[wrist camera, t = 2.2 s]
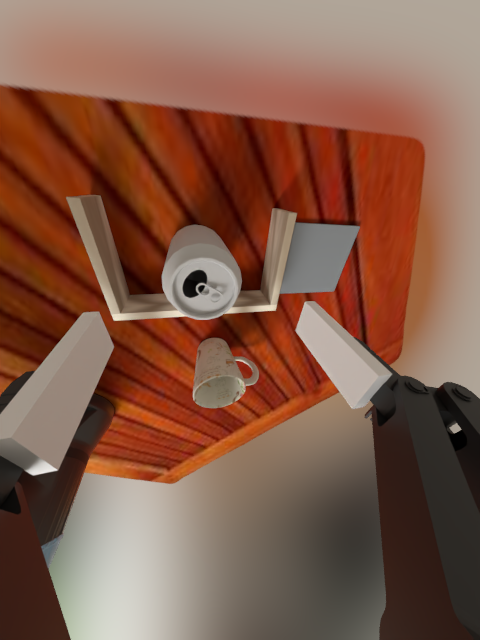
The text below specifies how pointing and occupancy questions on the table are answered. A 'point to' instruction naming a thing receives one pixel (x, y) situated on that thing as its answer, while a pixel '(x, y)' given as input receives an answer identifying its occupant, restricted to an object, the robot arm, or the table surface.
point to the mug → (219, 375)
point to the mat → (317, 257)
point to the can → (200, 274)
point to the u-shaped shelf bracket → (149, 306)
